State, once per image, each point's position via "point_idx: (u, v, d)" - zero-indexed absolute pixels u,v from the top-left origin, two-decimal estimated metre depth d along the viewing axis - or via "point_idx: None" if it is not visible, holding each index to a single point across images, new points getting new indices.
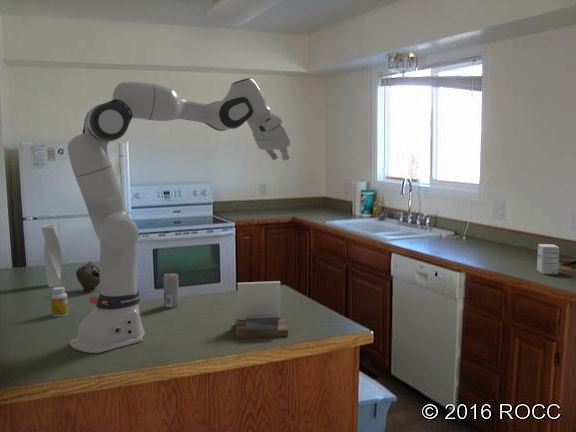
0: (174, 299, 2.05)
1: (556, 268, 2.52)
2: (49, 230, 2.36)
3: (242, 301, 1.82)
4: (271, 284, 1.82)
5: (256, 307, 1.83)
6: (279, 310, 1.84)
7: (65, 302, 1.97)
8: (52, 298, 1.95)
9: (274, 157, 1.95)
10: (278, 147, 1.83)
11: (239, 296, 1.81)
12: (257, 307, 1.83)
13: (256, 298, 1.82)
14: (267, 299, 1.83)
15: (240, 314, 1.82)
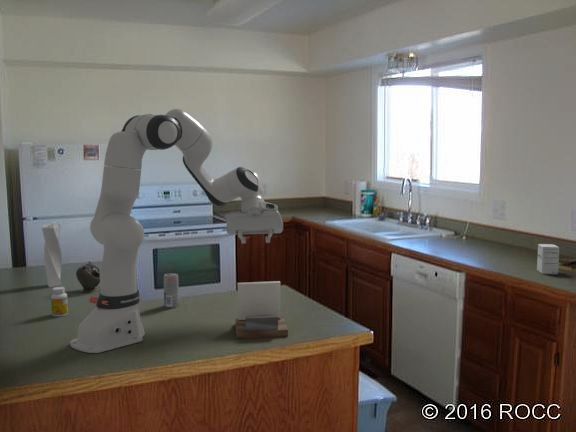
0: (174, 299, 2.05)
1: (556, 268, 2.52)
2: (49, 230, 2.36)
3: (242, 301, 1.82)
4: (271, 284, 1.82)
5: (256, 307, 1.83)
6: (279, 310, 1.84)
7: (65, 302, 1.97)
8: (52, 298, 1.95)
9: None
10: (276, 225, 1.98)
11: (239, 296, 1.81)
12: (257, 307, 1.83)
13: (256, 298, 1.82)
14: (267, 299, 1.83)
15: (240, 314, 1.82)
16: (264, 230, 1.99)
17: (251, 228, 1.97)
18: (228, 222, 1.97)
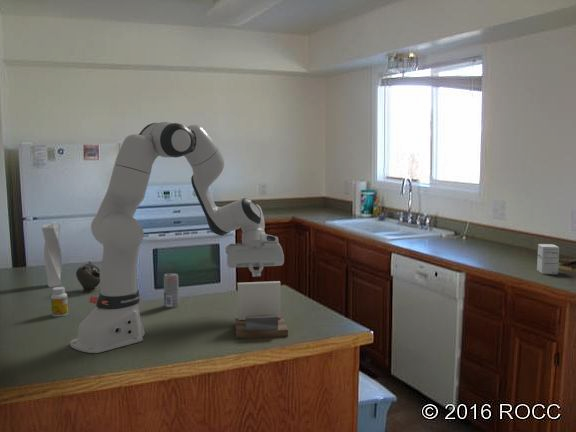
0: (174, 299, 2.05)
1: (556, 268, 2.52)
2: (49, 230, 2.36)
3: (242, 301, 1.82)
4: (271, 284, 1.82)
5: (256, 307, 1.83)
6: (279, 310, 1.84)
7: (65, 302, 1.97)
8: (52, 298, 1.95)
9: None
10: (277, 258, 1.97)
11: (239, 296, 1.81)
12: (257, 307, 1.83)
13: (256, 298, 1.82)
14: (267, 299, 1.83)
15: (240, 314, 1.82)
16: (265, 263, 1.98)
17: (252, 261, 1.95)
18: (229, 255, 1.96)
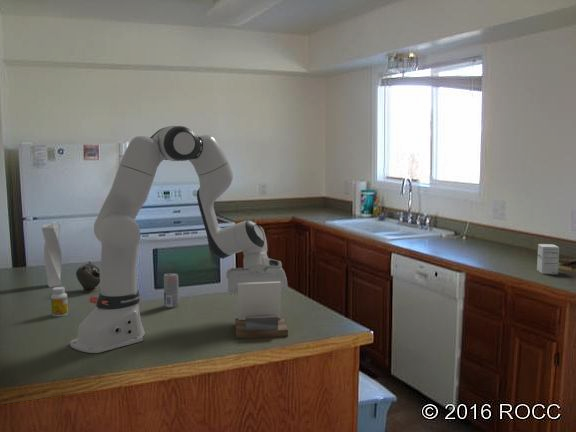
0: (174, 299, 2.05)
1: (556, 268, 2.52)
2: (49, 230, 2.36)
3: (242, 301, 1.81)
4: (271, 284, 1.82)
5: (256, 307, 1.82)
6: (279, 310, 1.83)
7: (65, 302, 1.97)
8: (52, 298, 1.95)
9: None
10: None
11: (239, 296, 1.81)
12: (257, 308, 1.82)
13: (257, 298, 1.82)
14: (267, 300, 1.82)
15: (240, 314, 1.82)
16: None
17: None
18: (229, 281, 1.87)
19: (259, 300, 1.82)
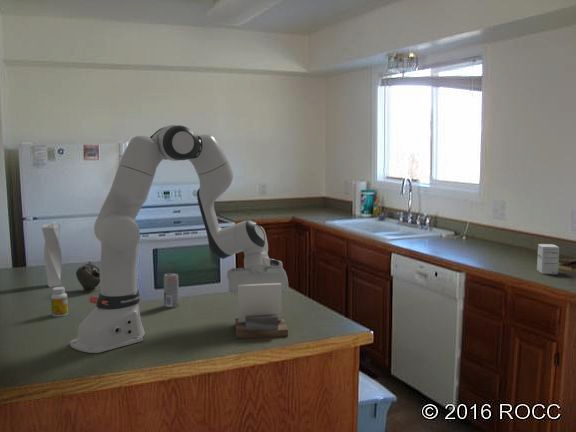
0: (174, 299, 2.05)
1: (556, 268, 2.52)
2: (49, 230, 2.36)
3: (242, 303, 1.79)
4: (272, 286, 1.80)
5: (257, 309, 1.80)
6: (280, 312, 1.81)
7: (65, 302, 1.97)
8: (52, 298, 1.95)
9: None
10: None
11: (239, 298, 1.79)
12: (258, 310, 1.80)
13: (257, 300, 1.80)
14: (268, 302, 1.80)
15: (240, 316, 1.80)
16: None
17: None
18: (230, 281, 1.86)
19: (260, 302, 1.80)
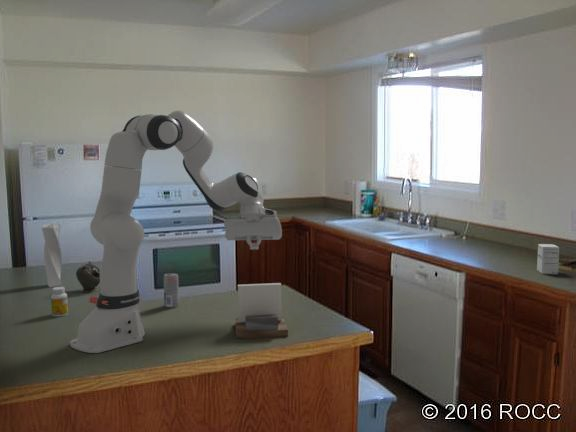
0: (174, 299, 2.05)
1: (556, 268, 2.52)
2: (49, 230, 2.36)
3: (242, 303, 1.79)
4: (272, 286, 1.80)
5: (257, 309, 1.80)
6: (280, 312, 1.81)
7: (65, 302, 1.97)
8: (52, 298, 1.95)
9: None
10: (274, 232, 1.97)
11: (239, 298, 1.79)
12: (258, 310, 1.80)
13: (257, 300, 1.80)
14: (268, 302, 1.80)
15: (240, 316, 1.80)
16: (263, 236, 1.99)
17: (250, 234, 1.96)
18: (227, 228, 1.97)
19: (260, 302, 1.80)
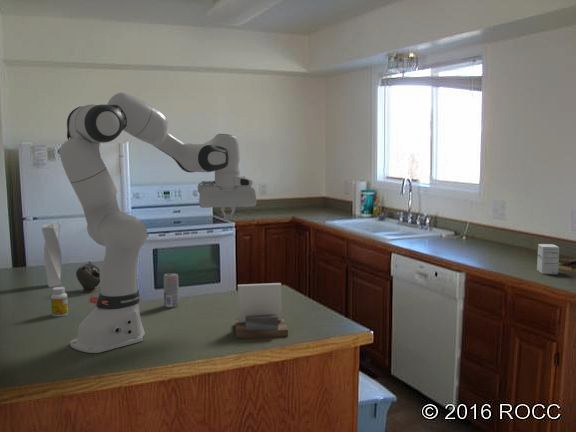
0: (174, 299, 2.05)
1: (556, 268, 2.52)
2: (49, 230, 2.36)
3: (242, 303, 1.79)
4: (272, 286, 1.80)
5: (257, 309, 1.80)
6: (280, 312, 1.81)
7: (65, 302, 1.97)
8: (52, 298, 1.95)
9: (228, 217, 1.97)
10: (249, 203, 1.96)
11: (239, 298, 1.79)
12: (258, 310, 1.80)
13: (257, 300, 1.80)
14: (268, 302, 1.80)
15: (240, 316, 1.80)
16: None
17: (224, 206, 1.95)
18: (200, 199, 1.93)
19: (260, 302, 1.80)
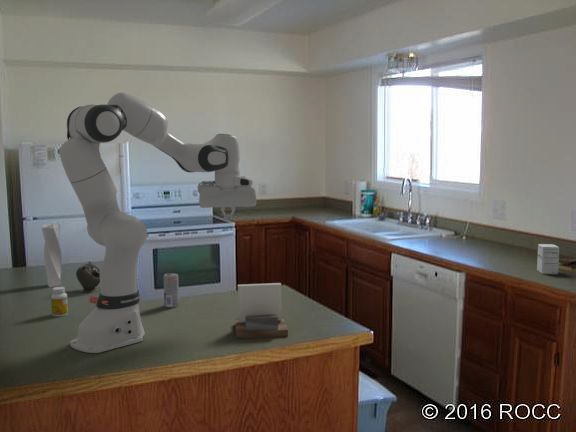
0: (174, 299, 2.05)
1: (556, 268, 2.52)
2: (49, 230, 2.36)
3: (242, 303, 1.79)
4: (272, 286, 1.80)
5: (257, 309, 1.80)
6: (280, 312, 1.81)
7: (65, 302, 1.97)
8: (52, 298, 1.95)
9: (228, 217, 1.97)
10: (249, 203, 1.96)
11: (239, 298, 1.79)
12: (258, 310, 1.80)
13: (257, 300, 1.80)
14: (268, 302, 1.80)
15: (240, 316, 1.80)
16: None
17: (224, 206, 1.95)
18: (200, 199, 1.93)
19: (260, 302, 1.80)
